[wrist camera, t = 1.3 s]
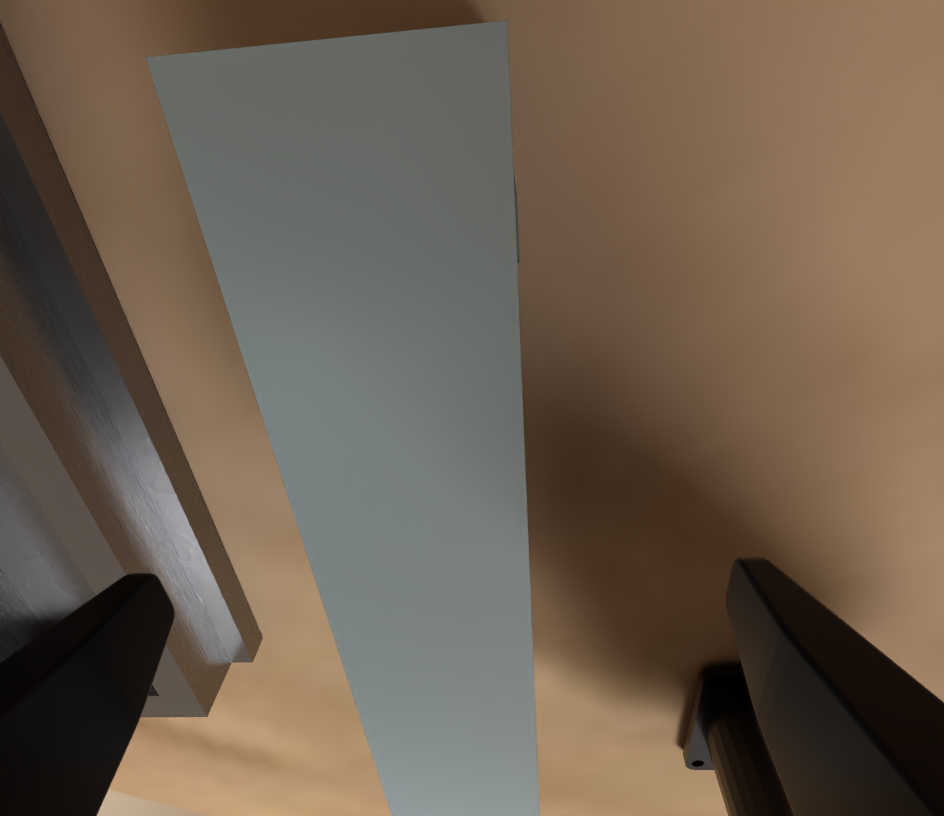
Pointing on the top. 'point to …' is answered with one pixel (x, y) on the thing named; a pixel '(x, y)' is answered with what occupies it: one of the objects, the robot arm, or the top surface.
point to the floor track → (92, 439)
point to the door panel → (386, 371)
